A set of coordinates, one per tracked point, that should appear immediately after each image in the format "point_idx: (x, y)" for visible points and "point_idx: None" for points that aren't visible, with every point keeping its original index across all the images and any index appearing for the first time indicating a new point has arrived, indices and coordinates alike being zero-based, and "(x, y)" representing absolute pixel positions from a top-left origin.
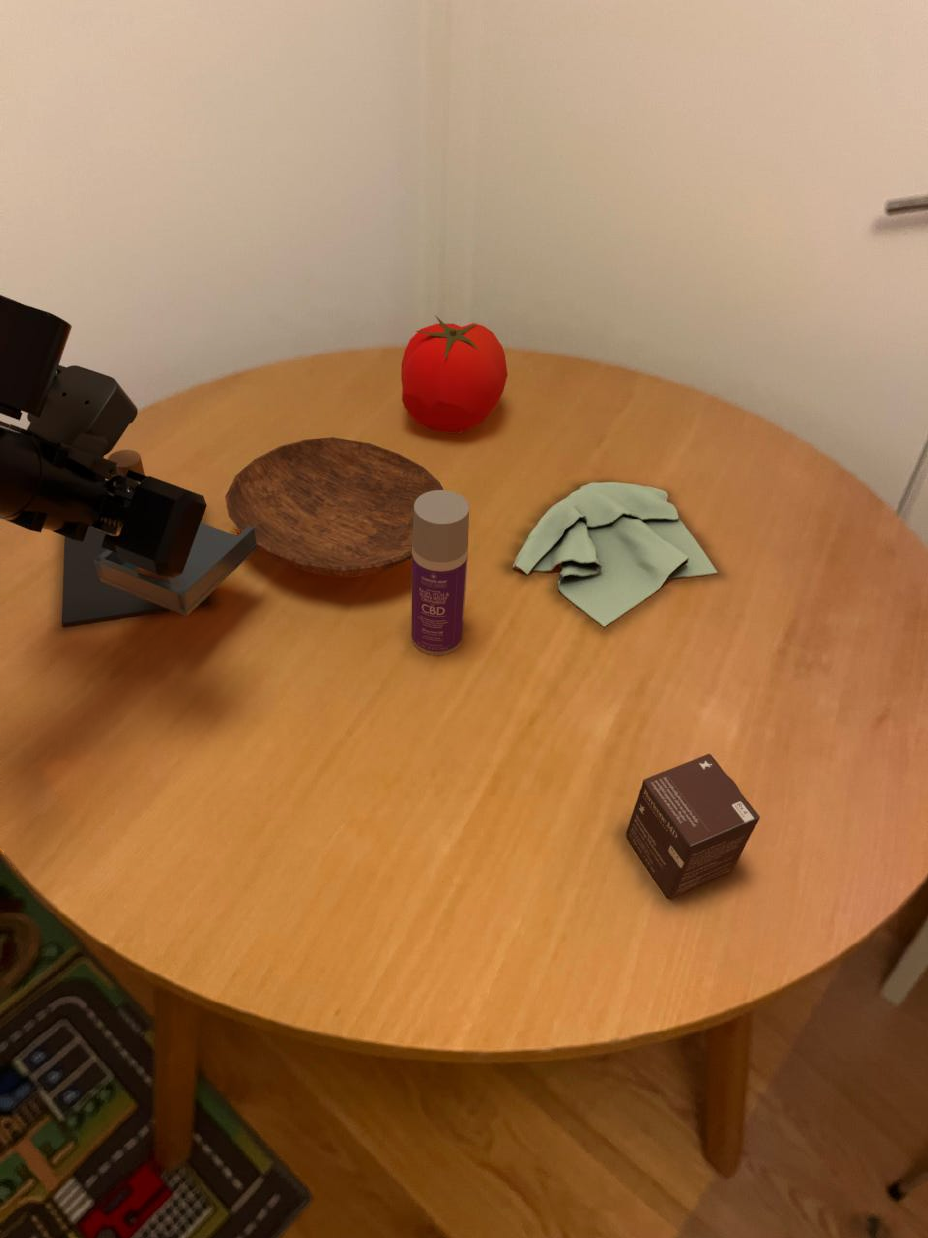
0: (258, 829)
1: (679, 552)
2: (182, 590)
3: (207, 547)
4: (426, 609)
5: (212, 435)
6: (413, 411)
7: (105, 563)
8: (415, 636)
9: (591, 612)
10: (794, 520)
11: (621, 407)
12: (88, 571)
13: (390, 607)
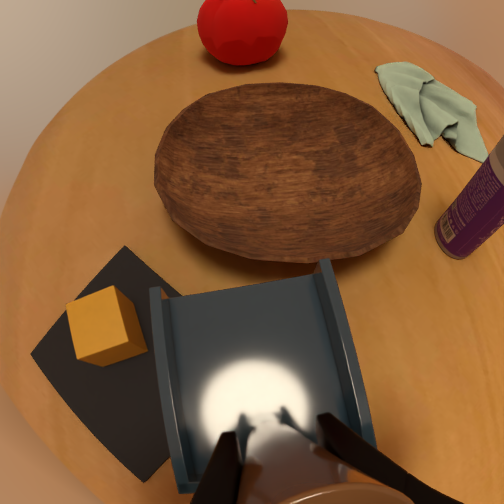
0: (489, 482)
1: (467, 99)
2: None
3: (271, 329)
4: (495, 230)
5: (72, 162)
6: (234, 54)
7: None
8: (460, 251)
9: (480, 159)
10: (455, 67)
11: (324, 24)
12: (96, 401)
13: (403, 232)
